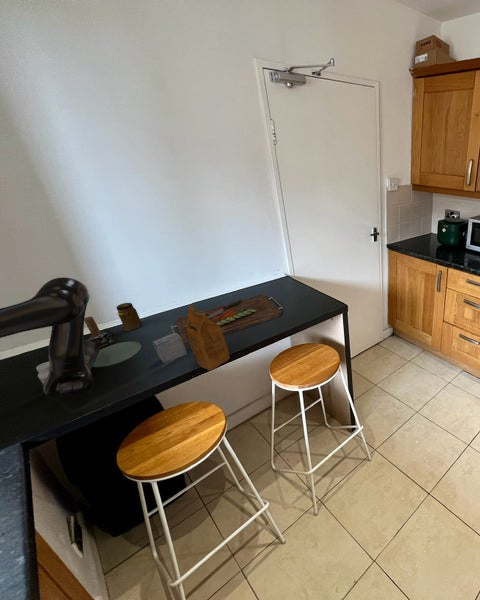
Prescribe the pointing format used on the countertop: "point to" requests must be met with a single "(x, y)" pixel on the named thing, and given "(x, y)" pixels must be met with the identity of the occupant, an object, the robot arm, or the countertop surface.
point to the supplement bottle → (43, 371)
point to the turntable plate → (116, 353)
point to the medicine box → (169, 347)
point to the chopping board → (236, 315)
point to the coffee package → (206, 340)
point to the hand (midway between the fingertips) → (91, 334)
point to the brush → (94, 328)
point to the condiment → (129, 317)
